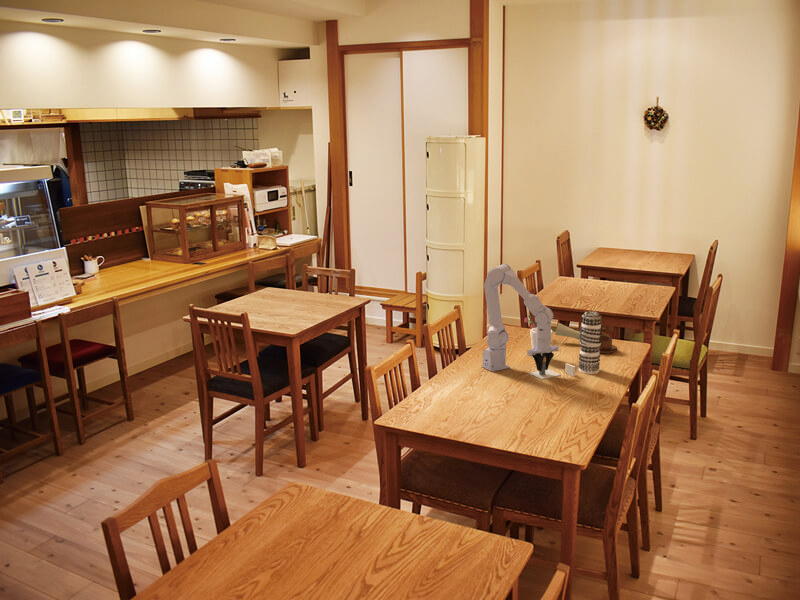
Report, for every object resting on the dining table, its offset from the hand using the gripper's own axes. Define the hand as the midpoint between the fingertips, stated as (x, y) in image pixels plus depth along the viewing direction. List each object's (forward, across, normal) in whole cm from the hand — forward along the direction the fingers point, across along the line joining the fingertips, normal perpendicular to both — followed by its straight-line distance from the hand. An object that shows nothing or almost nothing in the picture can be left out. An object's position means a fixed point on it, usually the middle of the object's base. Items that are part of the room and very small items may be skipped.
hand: (542, 369), depth 292 cm
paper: (+2, +2, 0) cm, 3 cm away
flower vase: (+2, +36, +32) cm, 49 cm away
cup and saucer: (+3, +44, +12) cm, 46 cm away
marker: (+2, 0, 0) cm, 2 cm away
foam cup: (+2, +12, +17) cm, 21 cm away
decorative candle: (+2, +20, -5) cm, 21 cm away
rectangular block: (+2, +10, -5) cm, 12 cm away
